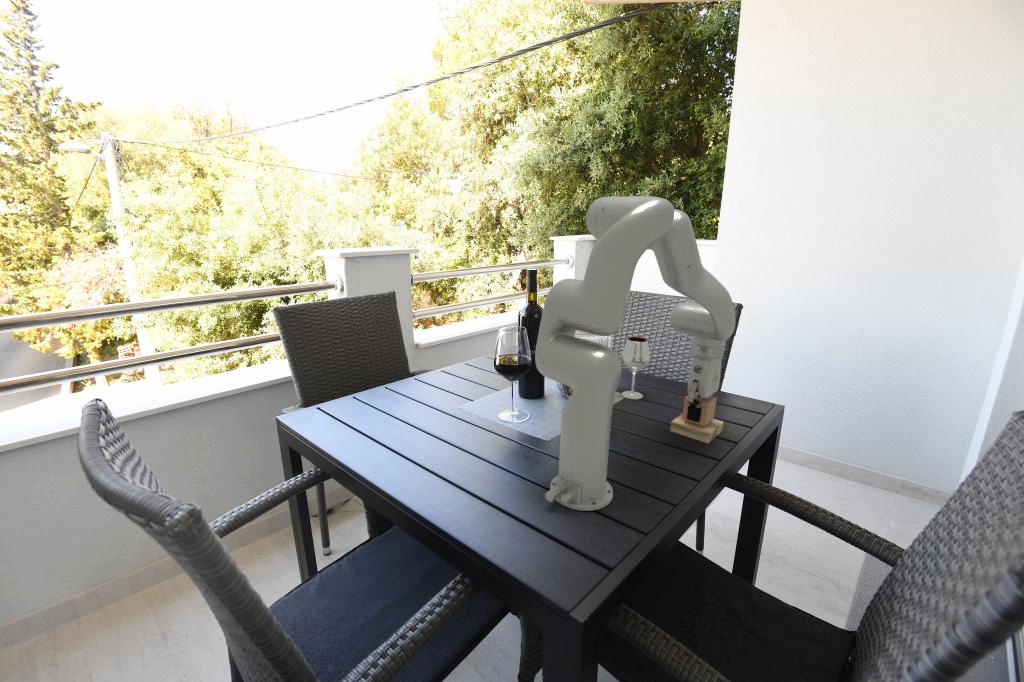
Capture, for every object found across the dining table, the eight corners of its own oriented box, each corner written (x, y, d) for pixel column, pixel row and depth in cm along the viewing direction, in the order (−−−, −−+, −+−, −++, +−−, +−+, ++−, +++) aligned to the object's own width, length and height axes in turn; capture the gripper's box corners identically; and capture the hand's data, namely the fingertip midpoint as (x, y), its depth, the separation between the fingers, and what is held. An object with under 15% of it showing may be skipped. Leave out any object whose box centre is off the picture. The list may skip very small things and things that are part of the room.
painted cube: (704, 426, 122) (708, 404, 120) (681, 419, 125) (684, 397, 124) (713, 419, 126) (716, 397, 124) (690, 412, 130) (693, 391, 128)
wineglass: (648, 401, 145) (654, 343, 140) (621, 400, 145) (626, 342, 140) (642, 391, 153) (647, 336, 148) (616, 390, 153) (621, 335, 148)
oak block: (708, 445, 120) (709, 434, 119) (669, 432, 126) (671, 421, 126) (722, 432, 127) (724, 421, 126) (685, 420, 134) (686, 410, 133)
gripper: (709, 361, 112) (699, 432, 117) (734, 346, 124) (724, 411, 129) (678, 354, 117) (670, 422, 122) (705, 340, 129) (696, 403, 134)
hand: (698, 416), depth 125 cm, fingers closed on painted cube, 5 cm apart
